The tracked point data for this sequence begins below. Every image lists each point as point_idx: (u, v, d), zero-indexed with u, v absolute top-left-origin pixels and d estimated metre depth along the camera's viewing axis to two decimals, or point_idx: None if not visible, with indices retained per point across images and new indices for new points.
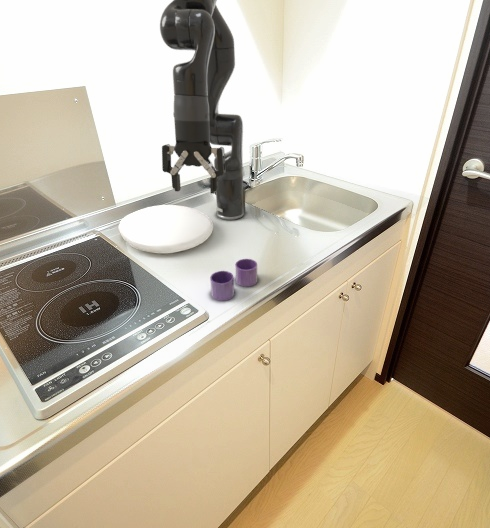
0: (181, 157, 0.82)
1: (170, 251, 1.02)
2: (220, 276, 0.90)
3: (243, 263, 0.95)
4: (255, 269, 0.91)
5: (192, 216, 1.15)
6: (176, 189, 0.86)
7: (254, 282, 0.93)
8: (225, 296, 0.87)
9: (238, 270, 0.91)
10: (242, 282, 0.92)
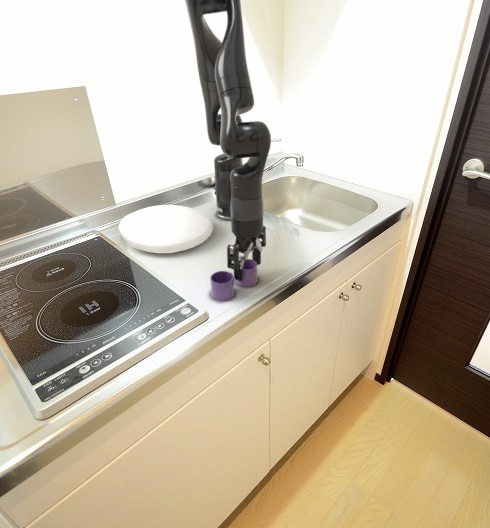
0: (248, 249, 0.86)
1: (170, 251, 1.02)
2: (220, 276, 0.90)
3: None
4: (255, 269, 0.91)
5: (192, 216, 1.15)
6: (242, 278, 0.89)
7: (254, 282, 0.93)
8: (225, 296, 0.87)
9: None
10: (242, 282, 0.92)
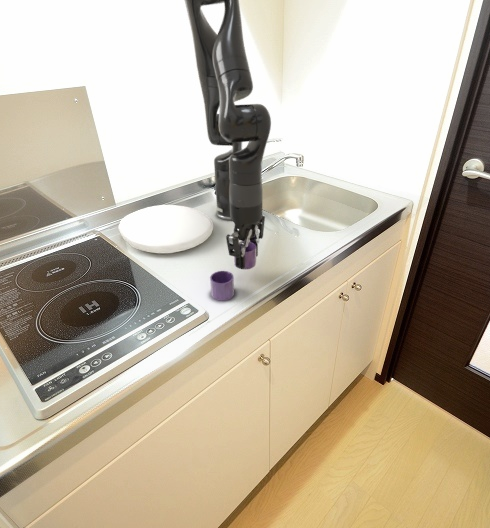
0: (248, 237, 0.85)
1: (170, 251, 1.02)
2: (220, 276, 0.90)
3: None
4: (254, 251, 0.89)
5: (192, 216, 1.15)
6: (244, 266, 0.89)
7: (253, 265, 0.91)
8: (225, 296, 0.87)
9: None
10: None
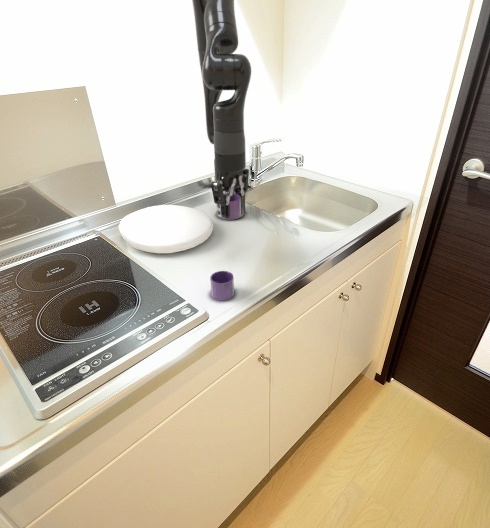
0: (232, 185, 0.91)
1: (170, 251, 1.02)
2: (220, 276, 0.90)
3: None
4: (238, 201, 0.95)
5: (192, 216, 1.15)
6: (229, 215, 0.94)
7: (238, 215, 0.96)
8: (225, 296, 0.87)
9: None
10: None
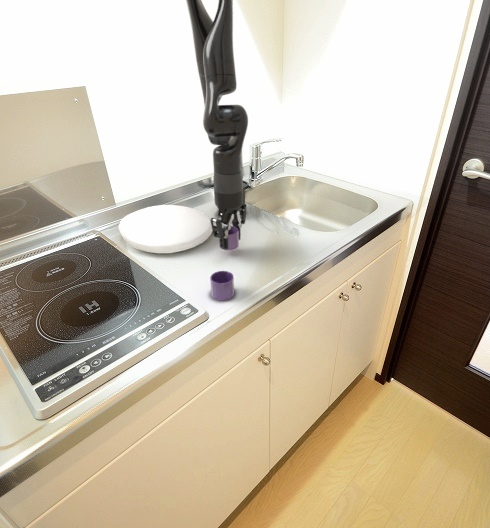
0: (230, 221, 0.98)
1: (170, 251, 1.02)
2: (220, 276, 0.90)
3: None
4: (236, 234, 1.01)
5: (192, 216, 1.15)
6: (227, 247, 1.01)
7: (235, 246, 1.03)
8: (225, 296, 0.87)
9: None
10: None
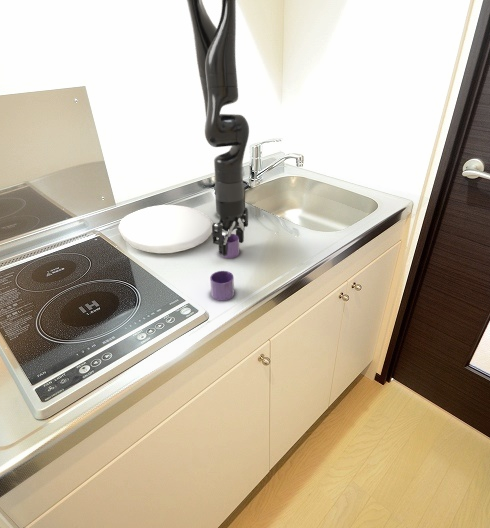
0: (231, 227, 0.99)
1: (170, 251, 1.02)
2: (220, 276, 0.90)
3: None
4: (237, 242, 1.03)
5: (192, 216, 1.15)
6: (226, 254, 1.02)
7: (236, 254, 1.05)
8: (225, 296, 0.87)
9: None
10: None
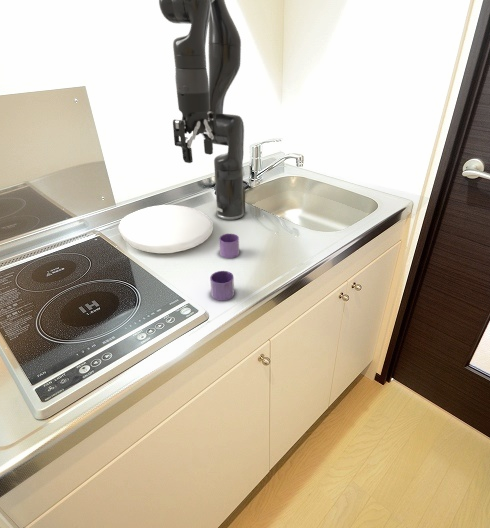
0: (195, 128, 0.88)
1: (170, 251, 1.02)
2: (220, 276, 0.90)
3: (226, 237, 1.06)
4: (237, 242, 1.03)
5: (192, 216, 1.15)
6: (191, 160, 0.91)
7: (236, 254, 1.05)
8: (225, 296, 0.87)
9: (221, 243, 1.02)
10: (225, 254, 1.04)
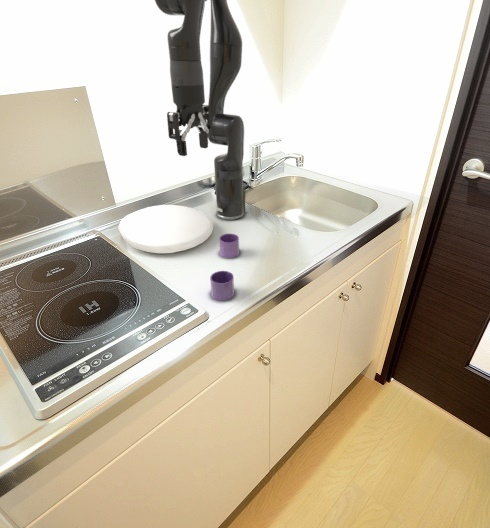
0: (190, 121, 0.88)
1: (170, 251, 1.02)
2: (220, 276, 0.90)
3: (226, 237, 1.06)
4: (237, 242, 1.03)
5: (192, 216, 1.15)
6: (186, 153, 0.91)
7: (236, 254, 1.05)
8: (225, 296, 0.87)
9: (221, 243, 1.02)
10: (225, 254, 1.04)
